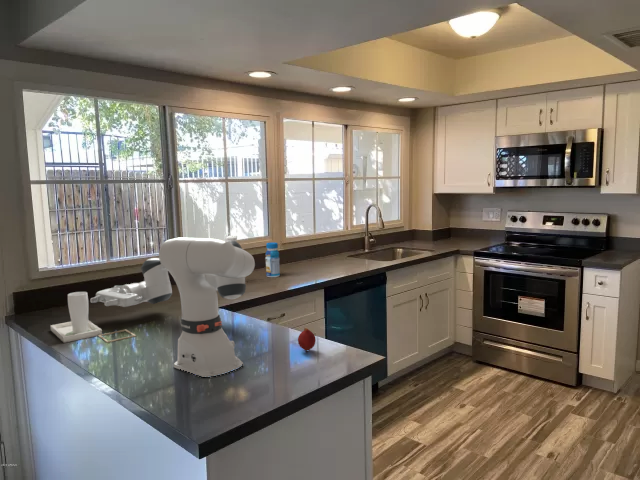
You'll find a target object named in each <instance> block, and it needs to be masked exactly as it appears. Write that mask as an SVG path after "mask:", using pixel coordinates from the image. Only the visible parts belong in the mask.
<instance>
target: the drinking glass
mask: <svg viewBox="0 0 640 480" xmlns="http://www.w3.org/2000/svg"><path fill="white" fill-rule="evenodd" d="M67 306H68V313H69V316H70V322H71V323H72V330H73V333H74V334H79V333H84V332H88V330H89V329H88V320H89V296H88V292H87V291H75V292H70V293H68V294H67Z"/></svg>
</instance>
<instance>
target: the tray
mask: <svg viewBox="0 0 640 480" xmlns="http://www.w3.org/2000/svg"><path fill="white" fill-rule="evenodd" d="M88 329H89V330H88V332H84V333H79V334H74V333H73V330H72V323H71V321H67V322H66V321H65V322H62V323H56V324H52V325H51V324H50V331H51V332H52V333H53V334H54V335H55V336H56V337H57V338H58V339H59V340H60V341H61V342H62V343H64V344H65V343H69V342H74V341H79V340H80V341H81V340H84V339H89V338H93V337H94V338H95V337H97V336H98V335H102V334H103V330H102V328H101V327H99V326H98V325H96V324H94V323H93V322H92V321H91V320H89V319H88ZM98 337H99V336H98Z"/></svg>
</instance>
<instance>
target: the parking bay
mask: <svg viewBox="0 0 640 480" xmlns="http://www.w3.org/2000/svg"><path fill="white" fill-rule="evenodd" d="M122 332H126V333H127V334H129V336H125V337H120V338H116V339H111V340H108V339H106V338H105V337H104V336H109V335H112V334H117V333H122ZM98 337H99V339H101V340H102V341H104V342H105V343H107V344H108V343H113V342H118V341H121V340H125V339H130V338H135V337H137V335H136V334H134V333H133V332H132V331H130V330H128V329H126V328H125V329H121V330H118V331H117V330H115V331H112V332H107V333H102V335H98Z"/></svg>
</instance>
